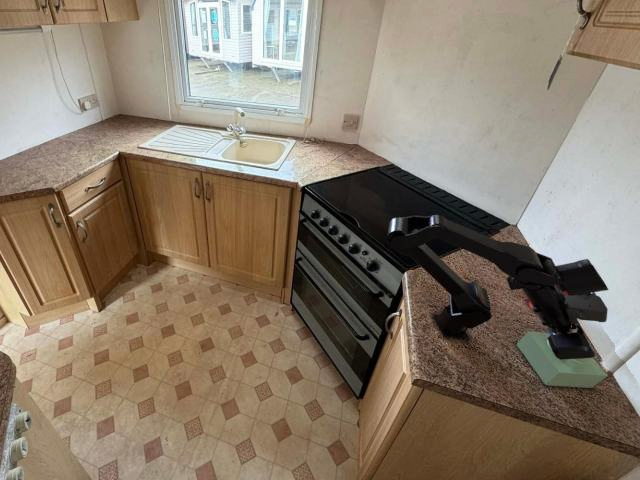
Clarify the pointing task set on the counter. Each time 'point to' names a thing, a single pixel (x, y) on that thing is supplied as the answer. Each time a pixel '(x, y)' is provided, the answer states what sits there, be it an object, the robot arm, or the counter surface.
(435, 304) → the counter surface
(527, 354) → the green flat block
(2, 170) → the counter surface
